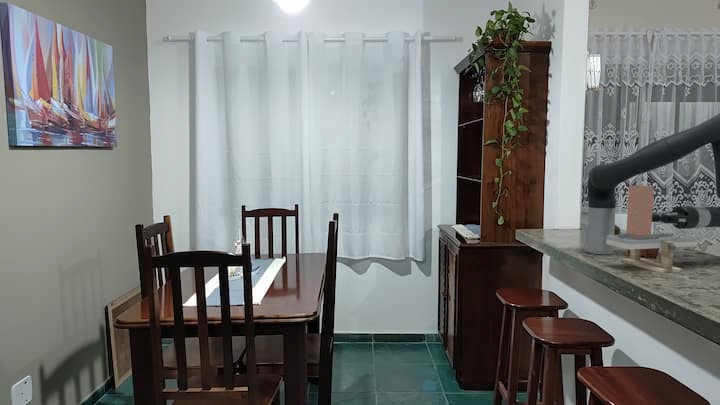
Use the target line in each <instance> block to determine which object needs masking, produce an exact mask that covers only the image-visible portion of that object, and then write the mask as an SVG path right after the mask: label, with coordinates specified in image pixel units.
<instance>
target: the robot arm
mask: <svg viewBox="0 0 720 405" xmlns="http://www.w3.org/2000/svg"><path fill="white" fill-rule="evenodd" d="M708 144H709V145H711V149H712V154H713V155H712V156H713V161H714V174H715V177H714V178H715V190H716V194H715V195H716V198H718V199H720V112H719V113H718V114H716V115H714V116H712V117H711V118H709V119H707V120H705V121H703V122H701V123H700V124H698V125H696V126H692V127H691V128H687V129H685V130H682V131H679V132H676V133H673V134H670V135H667V136H666V137H663V138H661V139H657V140H655V141H653V142H652V143H649V144H647V145H644V146H643V147H641V148H640V149H638V150H636V151H635V152H633V153H632V154H631V155H628V156H626V157H624V158H622V159H620V160H619V159H618V160H616V161H613V162H610V163H607V164H598V165H595V166H593V167H592V168H591V169H590V171H589V173H588V177H587V179H588V180H587V201H588V204H587V205H588V207H587V225H586V226H585V227H584V241H583V242H584V244H583V251H584V252H585V253H588V254H589V253H590V254H594V255H613V254H614V249H615V248H614V247H615V246H613V245H609V244H606V237H607V236H610V235H614V227H615V225H616V224H615V222H616V205H617V201H616V196H615V187H616V186H618V185H619V184H621V183H624V182H626V181H628V180H630V179H632V178H633V177H635V176H638V175H642V174H644V173H647V172H650V171H654V170H656V169H658V168H659V169H660V168H662V167H665V166H667V165H669V164H672V163H674V162H676V161H678V160H681V159H683V158H684V157H686V156H688V155H690V154H692V153H693V152H695V151H697V150H699V149H701V148H702V147H704V146H707V145H708ZM652 223H658V224H659V223H660V224H666V225H672V226H673V227H674V228H676V229H679V230H688V229H690V230H691V229H701V228H713V227H714V228H715V227H716V228H720V206H718V207H717V206H700V205H699V206H698V205H688V206H687V205H683V206H682V205H681V206H677V207H674V208H673V209H672V210H671V211H670V210H669V211H667V210H666V211H665V212H664V211H662V212H657V211H655V212H654V211H653V212H652Z"/></svg>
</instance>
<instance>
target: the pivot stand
mask: <svg viewBox="0 0 720 405" xmlns="http://www.w3.org/2000/svg"><path fill="white" fill-rule="evenodd" d="M675 249H677V247H676V246H675V245H674V242H670V241H662V248H661V255H660V256H661V257H660V262H657V261H654V260H650V259H646V258H642V257H641V256H642V254H641V253H642V251H641V250H642V249H630V251H629V252H630V253H629V258H620V262H621V263H624V264H627V265H631V266H635V267H638V268H642V269H644V270H649V271H652V272H656V273H659V274H663V273H664V274H665V273H666V274H667V273H682V272H683V268H681V267H678V266H677V267H676V266H673V264H674V263H673V261H674V260H673V259H674V251H675Z"/></svg>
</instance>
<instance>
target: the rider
mask: <svg viewBox="0 0 720 405" xmlns="http://www.w3.org/2000/svg"><path fill="white" fill-rule="evenodd" d="M654 189H655V188H654V186H653V185H643V184H640V185H628V193H627V194H628V195H627V213H626V215H627V218H626V232H620V233H619V238H621V239H626V240H649V239H659V236H655V235H651V234H652V228H653V226H652V225H653V222H652V213H653V212H654V211H653V208H654V193H655V192H654Z"/></svg>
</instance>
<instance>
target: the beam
mask: <svg viewBox="0 0 720 405" xmlns="http://www.w3.org/2000/svg"><path fill="white" fill-rule="evenodd" d="M651 235H655V236H659V239H649V240H626V239H621V238H619V235H610V236H607V237H606V244H609V245H613V247H617V248H620V249H621V248H622V249H625V250H630V249H641V250H647V249H648V250H649V249H662V241H670V242H674V245H675V246H676V248H687V247H688V248H690V247H698V242H699V240H698V239H699V238H698V237H677V236H674V233H673V232H668V233H667V232H666V233H664V232H663V233H651Z"/></svg>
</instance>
